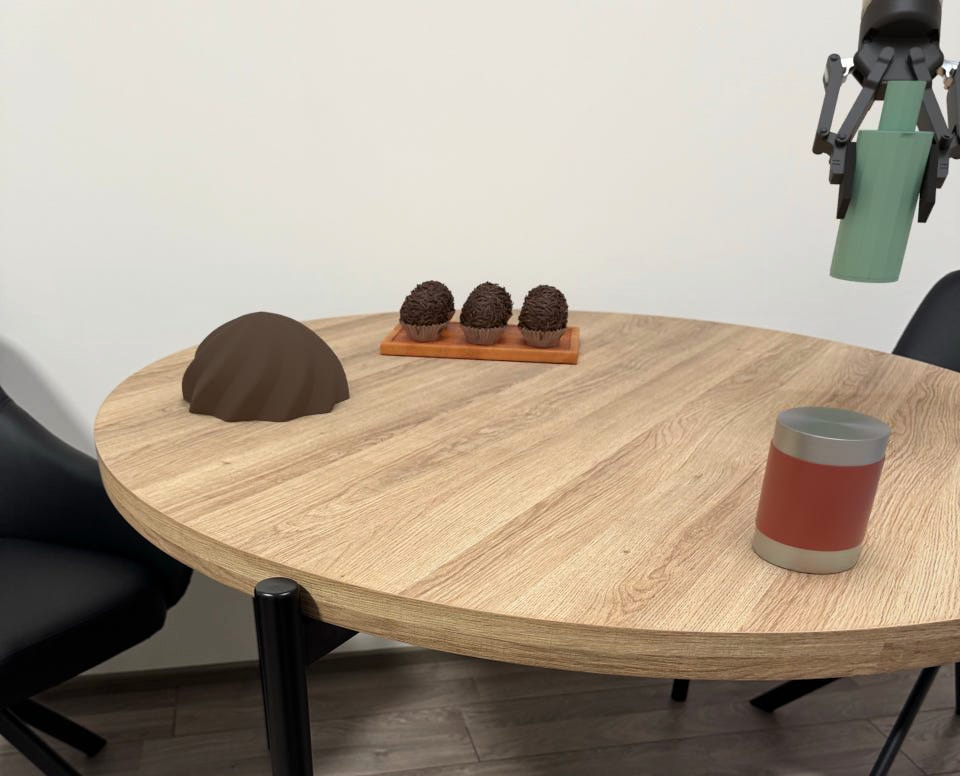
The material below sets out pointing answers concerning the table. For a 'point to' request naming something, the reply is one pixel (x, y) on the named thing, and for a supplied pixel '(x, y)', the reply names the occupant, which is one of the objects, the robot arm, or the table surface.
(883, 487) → the table surface
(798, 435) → the can
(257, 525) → the table surface
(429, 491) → the table surface
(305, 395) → the decorative dome
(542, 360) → the chocolate truffle
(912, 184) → the bottle
